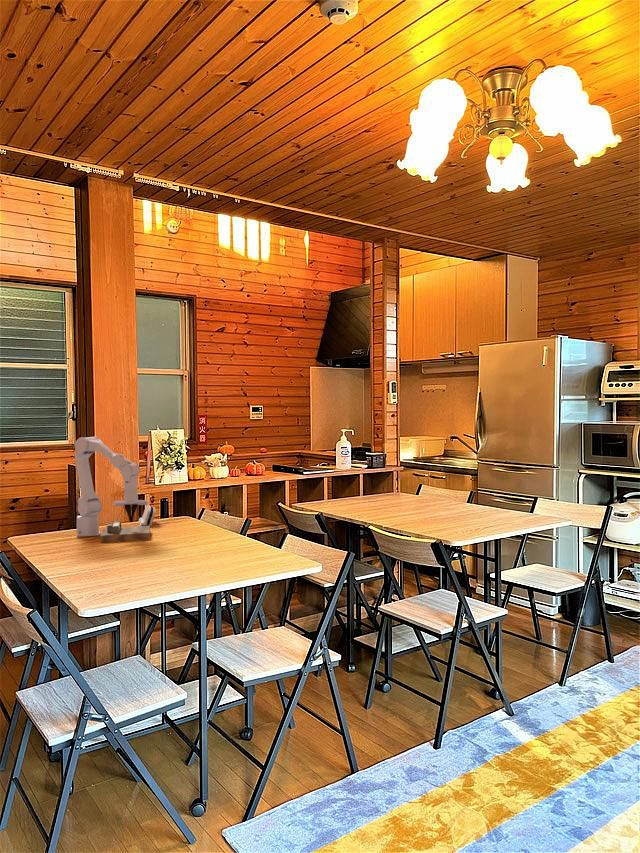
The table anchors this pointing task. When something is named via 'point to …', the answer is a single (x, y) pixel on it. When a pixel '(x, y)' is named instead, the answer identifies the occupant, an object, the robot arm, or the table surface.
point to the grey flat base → (125, 534)
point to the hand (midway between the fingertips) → (131, 521)
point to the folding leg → (116, 527)
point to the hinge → (147, 516)
